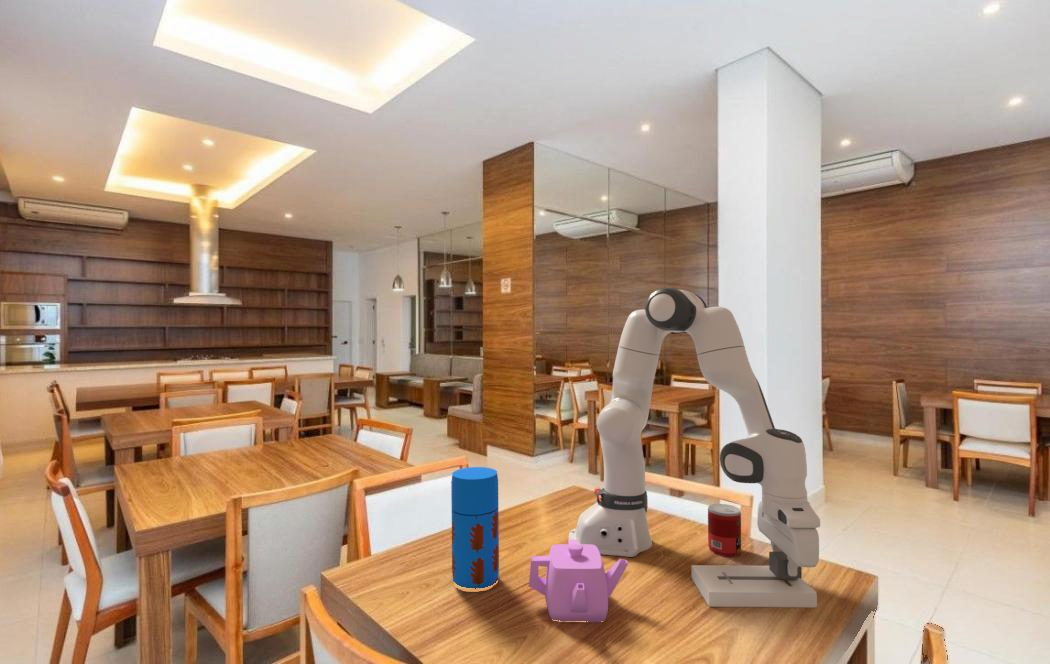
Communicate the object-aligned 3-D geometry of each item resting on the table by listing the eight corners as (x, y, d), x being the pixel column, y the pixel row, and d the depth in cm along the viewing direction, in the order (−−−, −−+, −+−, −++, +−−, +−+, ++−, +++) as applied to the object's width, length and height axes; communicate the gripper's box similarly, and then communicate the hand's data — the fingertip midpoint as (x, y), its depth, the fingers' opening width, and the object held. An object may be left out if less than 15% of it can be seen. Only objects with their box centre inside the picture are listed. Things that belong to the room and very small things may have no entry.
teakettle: (571, 577, 116) (571, 524, 116) (633, 605, 104) (632, 546, 104) (519, 605, 105) (518, 546, 105) (581, 640, 92) (581, 573, 92)
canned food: (744, 558, 125) (743, 514, 125) (710, 555, 127) (710, 512, 127) (737, 545, 133) (737, 504, 133) (706, 543, 134) (705, 502, 134)
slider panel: (709, 606, 103) (708, 591, 103) (691, 578, 115) (691, 564, 115) (817, 607, 102) (816, 592, 102) (788, 578, 114) (788, 565, 114)
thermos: (507, 575, 117) (506, 469, 117) (484, 597, 108) (483, 481, 108) (467, 566, 122) (466, 464, 122) (442, 587, 112) (441, 476, 112)
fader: (777, 581, 107) (777, 559, 107) (769, 572, 111) (769, 551, 111) (801, 581, 106) (801, 559, 106) (792, 572, 110) (792, 551, 110)
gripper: (749, 490, 119) (750, 548, 119) (792, 522, 99) (793, 592, 98) (776, 490, 119) (777, 548, 119) (825, 522, 98) (826, 592, 98)
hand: (785, 568), depth 108 cm, fingers closed on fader, 4 cm apart
